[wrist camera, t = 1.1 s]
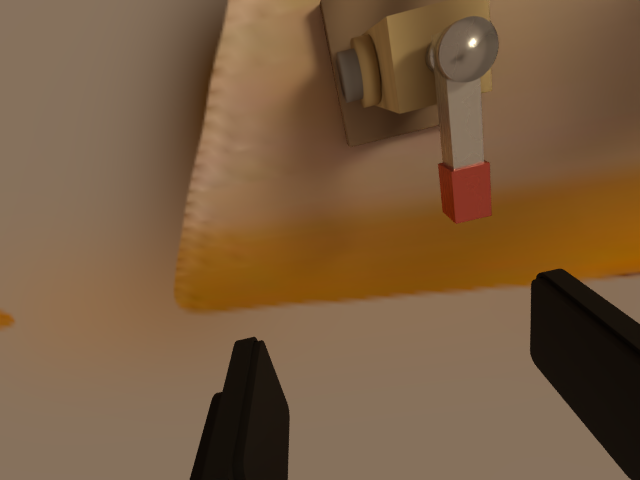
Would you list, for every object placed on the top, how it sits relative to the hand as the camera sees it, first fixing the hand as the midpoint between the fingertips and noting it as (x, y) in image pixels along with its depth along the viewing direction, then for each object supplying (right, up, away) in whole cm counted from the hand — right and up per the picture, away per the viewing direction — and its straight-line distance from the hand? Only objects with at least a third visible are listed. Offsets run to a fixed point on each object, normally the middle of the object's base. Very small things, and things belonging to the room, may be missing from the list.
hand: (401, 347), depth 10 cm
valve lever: (+5, +10, +10) cm, 15 cm away
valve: (+4, +17, +17) cm, 24 cm away
